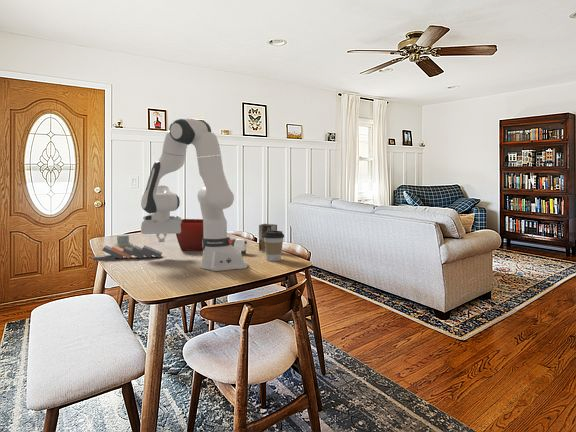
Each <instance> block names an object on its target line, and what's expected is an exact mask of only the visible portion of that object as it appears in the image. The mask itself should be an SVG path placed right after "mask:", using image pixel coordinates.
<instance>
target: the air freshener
mask: <svg viewBox="0 0 576 432" xmlns="http://www.w3.org/2000/svg"><path fill="white" fill-rule="evenodd" d="M116 239H117V240H116V241H117V242H116V243H115V244H114V245H116V246H118V247H120V248H122V249H124V248H125V247H129V248H132V249H133V247H134V246H135V245H134V244H133V243H132V242H131V241H129V240H130V235H129V234H117V236H116ZM114 245H112V247H113V246H114Z"/></svg>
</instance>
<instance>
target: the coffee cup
mask: <svg viewBox="0 0 576 432" xmlns="http://www.w3.org/2000/svg"><path fill="white" fill-rule="evenodd" d="M263 237H264V242H265V251H266V253H265V259H266V261H269V262H279V261H281V258H282V250H283V242H284V238H285V234H284V233H283V231H282V230H277V231H265V234H263Z"/></svg>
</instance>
